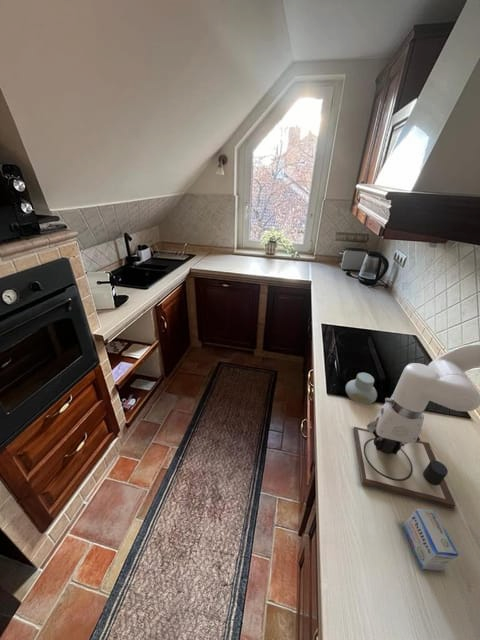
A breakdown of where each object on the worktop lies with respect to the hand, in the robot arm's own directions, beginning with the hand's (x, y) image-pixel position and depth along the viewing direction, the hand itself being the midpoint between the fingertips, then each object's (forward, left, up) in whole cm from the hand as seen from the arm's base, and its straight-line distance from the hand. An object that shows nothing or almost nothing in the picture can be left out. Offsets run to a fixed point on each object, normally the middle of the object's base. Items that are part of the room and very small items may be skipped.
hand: (385, 447), depth 77 cm
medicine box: (-3, +23, -2) cm, 23 cm away
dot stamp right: (-11, +6, -1) cm, 12 cm away
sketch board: (-3, +3, -2) cm, 5 cm away
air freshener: (+4, -22, -2) cm, 22 cm away
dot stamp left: (0, 0, 0) cm, 0 cm away
